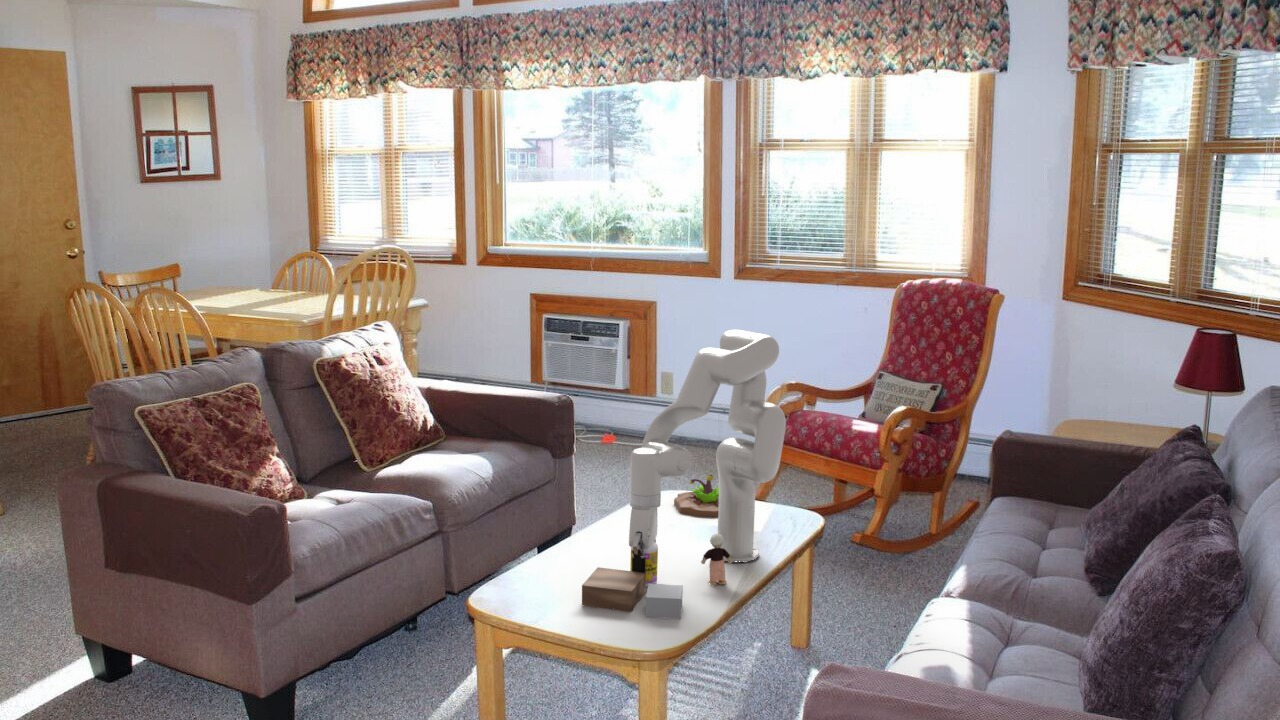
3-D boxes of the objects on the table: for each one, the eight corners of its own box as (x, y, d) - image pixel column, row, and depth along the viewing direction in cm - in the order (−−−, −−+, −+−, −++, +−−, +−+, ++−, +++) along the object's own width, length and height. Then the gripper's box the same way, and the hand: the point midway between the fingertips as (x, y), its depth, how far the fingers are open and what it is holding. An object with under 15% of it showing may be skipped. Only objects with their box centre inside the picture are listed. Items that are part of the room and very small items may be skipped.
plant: (674, 517, 312) (675, 480, 311) (673, 497, 332) (674, 463, 330) (742, 519, 312) (743, 482, 310) (737, 499, 331) (739, 464, 329)
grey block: (648, 604, 249) (648, 583, 248) (682, 605, 248) (682, 585, 247) (645, 618, 241) (646, 597, 240) (680, 619, 240) (681, 598, 240)
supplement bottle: (634, 589, 257) (634, 538, 255) (627, 579, 263) (627, 529, 261) (660, 586, 259) (661, 536, 257) (653, 576, 265) (653, 527, 263)
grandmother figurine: (726, 578, 265) (727, 530, 262) (733, 584, 261) (734, 534, 259) (698, 582, 262) (699, 533, 260) (704, 588, 258) (705, 538, 256)
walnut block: (597, 586, 258) (597, 567, 257) (645, 592, 255) (645, 572, 254) (581, 605, 247) (581, 585, 246) (631, 612, 244) (631, 591, 243)
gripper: (639, 487, 267) (638, 552, 270) (620, 507, 250) (619, 576, 253) (668, 490, 265) (667, 555, 268) (650, 511, 248) (649, 580, 251)
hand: (643, 566), depth 260 cm, fingers open, 9 cm apart
